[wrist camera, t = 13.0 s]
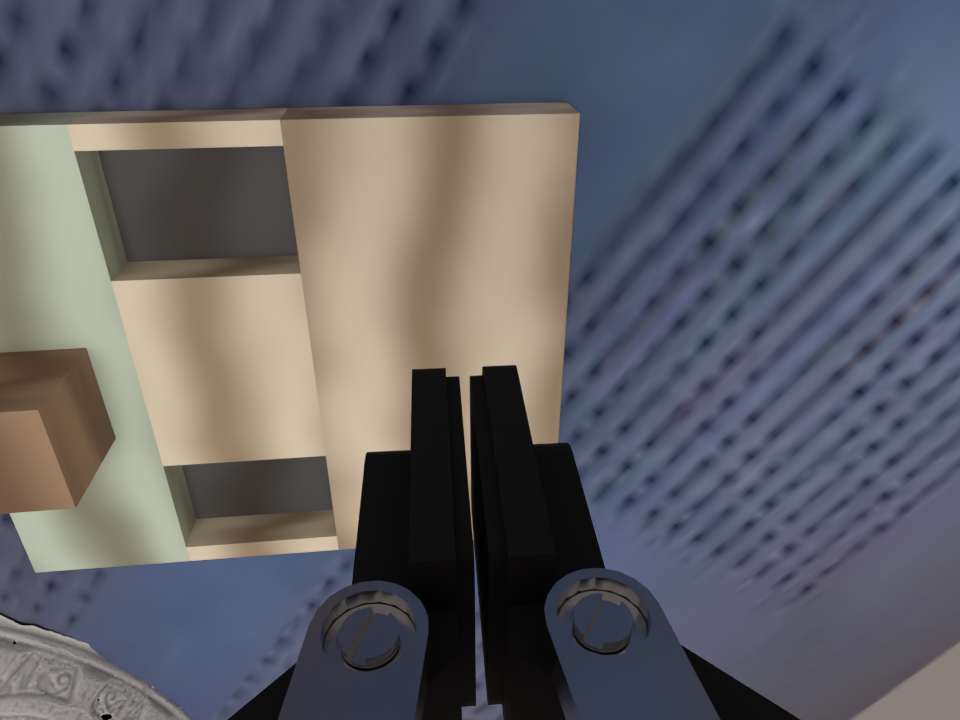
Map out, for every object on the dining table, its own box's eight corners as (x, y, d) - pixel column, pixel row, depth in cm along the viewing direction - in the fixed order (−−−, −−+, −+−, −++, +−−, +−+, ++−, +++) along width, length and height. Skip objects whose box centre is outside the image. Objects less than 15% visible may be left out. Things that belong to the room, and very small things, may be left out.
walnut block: (86, 347, 32) (38, 410, 28) (115, 438, 34) (75, 508, 30) (-32, 354, 31) (-100, 418, 27) (6, 445, 34) (-50, 517, 30)
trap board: (567, 102, 31) (579, 113, 29) (544, 503, 43) (552, 533, 40) (-117, 116, 29) (-158, 129, 26) (54, 539, 40) (35, 572, 38)
